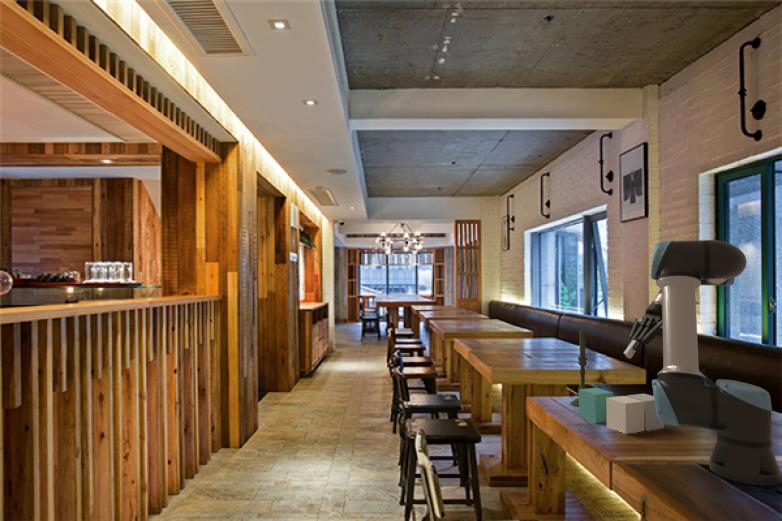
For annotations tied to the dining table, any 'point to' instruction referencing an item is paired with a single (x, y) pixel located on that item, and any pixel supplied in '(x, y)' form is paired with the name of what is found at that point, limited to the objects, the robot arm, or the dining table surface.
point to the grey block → (649, 412)
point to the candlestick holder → (582, 363)
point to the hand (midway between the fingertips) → (627, 355)
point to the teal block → (593, 404)
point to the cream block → (625, 414)
